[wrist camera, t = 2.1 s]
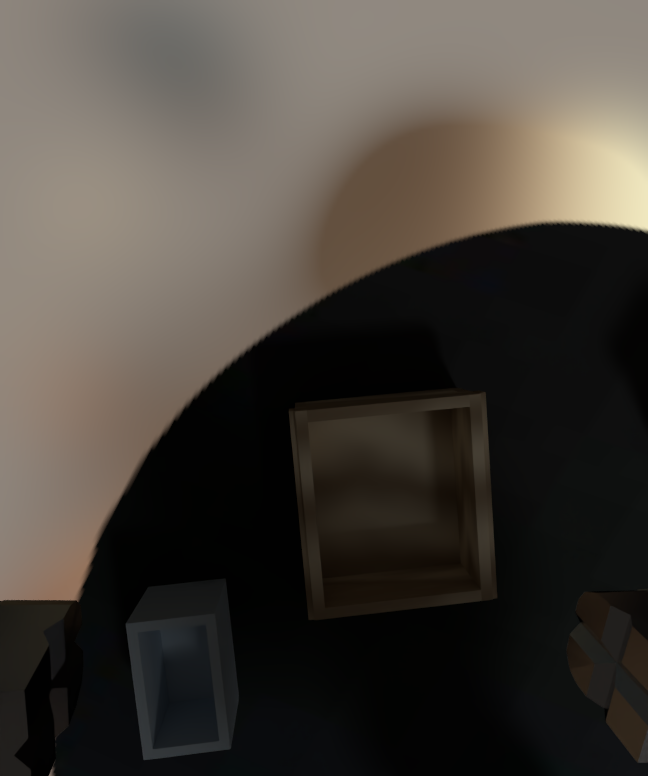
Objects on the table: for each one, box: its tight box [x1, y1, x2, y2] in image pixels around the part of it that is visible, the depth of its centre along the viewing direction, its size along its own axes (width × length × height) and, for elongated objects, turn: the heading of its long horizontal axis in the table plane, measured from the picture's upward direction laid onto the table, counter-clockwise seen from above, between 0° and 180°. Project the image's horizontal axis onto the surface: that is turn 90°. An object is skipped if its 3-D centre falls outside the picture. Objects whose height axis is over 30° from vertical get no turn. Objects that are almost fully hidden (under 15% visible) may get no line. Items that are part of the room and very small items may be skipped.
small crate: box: [126, 578, 239, 760], centre depth 36 cm, size 10×6×5 cm, turn 5°
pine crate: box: [289, 388, 497, 620], centre depth 35 cm, size 15×13×5 cm
